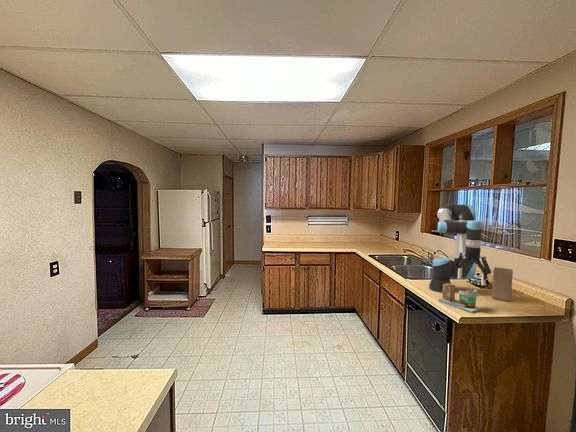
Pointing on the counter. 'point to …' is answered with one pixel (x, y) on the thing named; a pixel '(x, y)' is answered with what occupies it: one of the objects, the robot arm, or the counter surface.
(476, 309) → the board
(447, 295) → the walnut pillar
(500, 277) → the wooden block
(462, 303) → the food container
